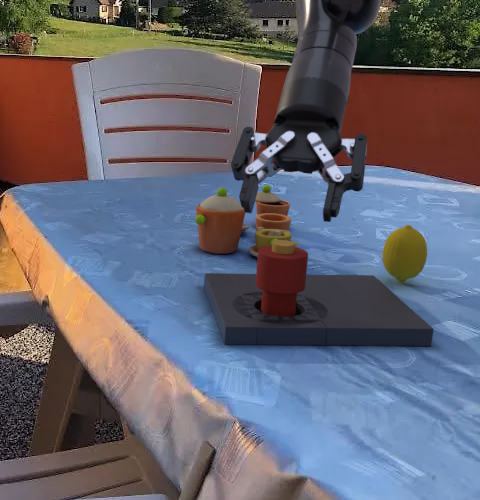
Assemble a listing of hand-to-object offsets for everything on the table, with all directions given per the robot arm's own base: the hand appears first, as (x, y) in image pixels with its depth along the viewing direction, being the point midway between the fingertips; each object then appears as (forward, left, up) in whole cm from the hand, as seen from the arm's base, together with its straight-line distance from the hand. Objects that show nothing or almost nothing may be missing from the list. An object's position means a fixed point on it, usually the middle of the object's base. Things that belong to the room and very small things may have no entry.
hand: (286, 213), depth 76 cm
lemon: (-20, -16, -13) cm, 29 cm away
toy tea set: (-3, -37, -13) cm, 39 cm away
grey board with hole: (-4, -4, -13) cm, 14 cm away
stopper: (0, -1, -13) cm, 13 cm away
